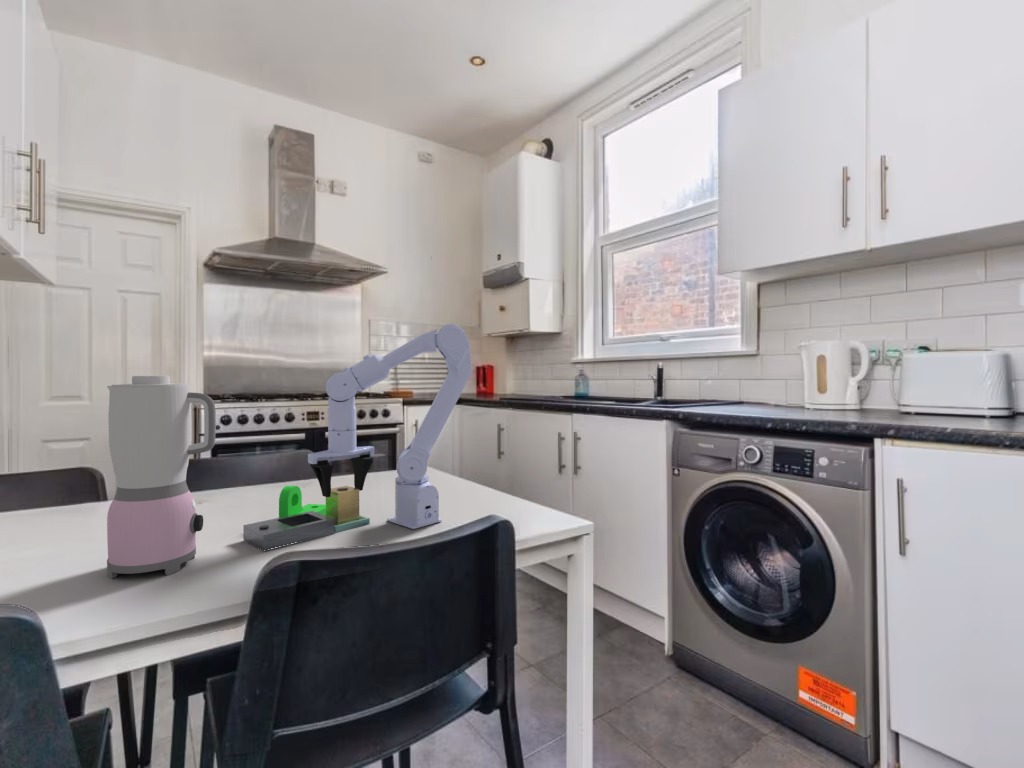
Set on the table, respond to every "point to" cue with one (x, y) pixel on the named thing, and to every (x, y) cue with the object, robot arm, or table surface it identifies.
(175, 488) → the blender
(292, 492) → the mechanical part
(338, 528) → the tray
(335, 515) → the block
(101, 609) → the table surface
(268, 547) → the grey slotted block
